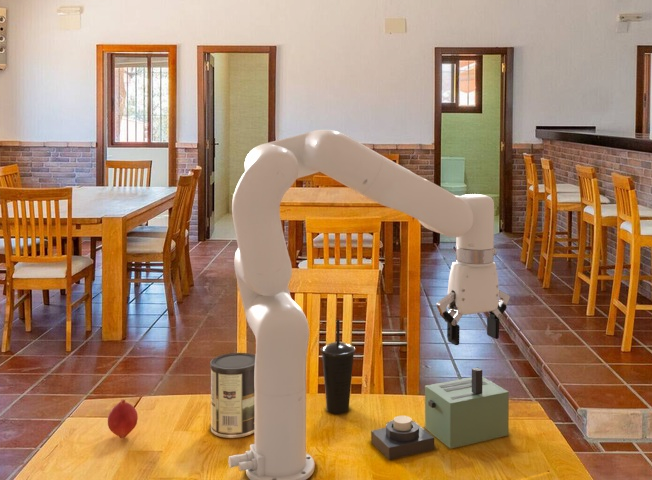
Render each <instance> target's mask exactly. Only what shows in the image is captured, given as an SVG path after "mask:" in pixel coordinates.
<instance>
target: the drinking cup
mask: <svg viewBox="0 0 652 480" xmlns="http://www.w3.org/2000/svg"><path fill="white" fill-rule="evenodd" d="M335 321H336V327H335V329H336V330H335V331H336V332H335V333H336V338H335V339H336V341H333V342H330V343H328V344H325V345H323V346H322V347H321V348H320V353H321V356H322V358H321V359H322V366H323V367H322V368H323V379H324V391H325V393H324V394H325V402H326V403H325V405H326V410H327V413H329V414H332V415H343V414H344V415H345V414H346V413H348V412H349V409H350V398H351V390H352V389H351V388H352V387H351V386H352V378H353V377H352V376H353V368H354V367H353V365H354V354H355V352H356V348H355V346H354V345H351V344H348V343H346V342H342V341H340V340H341V339H340V335H341V334H340V329H341V328H340V325H341V324H340V319H336V320H335Z"/></svg>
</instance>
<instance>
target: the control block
mask: <svg viewBox="0 0 652 480" xmlns="http://www.w3.org/2000/svg"><path fill="white" fill-rule="evenodd" d="M370 443H371V444H372V445H373V446H374V447H375V448H376V449H377V450H378V451H379V452H380V453H381V454H382V455H384V456H385V458H386V459H388V461H391V460H396V459H399V458H400V459H401V458H404V457H408V456H413V455H417V454H422V453H426V452H430V451H434V450H435V436H434V435H433V434H431V433H430V432H429V431H428V430H426V429H425V428H423V427H422V426H421V425H420V424H418V422H416V421H415V420H412V428H411V430H407V431H399V430H395V429H394V428H393V419H392V420H389V421H388V422H387V423H385V427H383V428H382V427H381V428H378V429H372V430H371V431H370Z"/></svg>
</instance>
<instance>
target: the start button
mask: <svg viewBox="0 0 652 480" xmlns="http://www.w3.org/2000/svg"><path fill="white" fill-rule="evenodd" d="M392 420H393V428H394V429H395V430H399V431H407V430H411V428H412V421H413V420H412V417H410V416H408V415H396V416H394V417H393V419H392Z"/></svg>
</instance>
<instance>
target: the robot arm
mask: <svg viewBox="0 0 652 480" xmlns="http://www.w3.org/2000/svg"><path fill="white" fill-rule="evenodd" d="M244 160H245V161H244V173H243V174H241V177H240V179H239V180H238V182H237V185H236V187H235V189H234V192H233V195H232V202H231V215H232V220H233V221H232V222H233V228H234V232H235V238H236V243H237V249H236V251H235V254H234V258H233V259H234V261H233V264H234V265H233V267H234V272H235V273H234V274H235V277H236V281H237V285H238V289H239V293H240V299H241V303H242V307H243V310H244V315H245V318H246V321H247V324H248V326H249V328H250V330H251V331H252V333H253V335H254V337H255V355H256V356H255V369H254V396H255V432H254V443H251V444H249V450H245V451H244V453H241V454H234V455H229V456H228V461H227V463H228V467H229V468H230V469H232V468H236V467H238V470H239V472H243V471H245V474H246V477H247V478H248V479H249V480H308V479H309V478H310V477H311V476H312V475H313V474H314V472H315V465H316V464H315V459H314V458H313V456H311V455H310V454H309V453H307V358H308V349H309V343H310V342H309V341H310V326H309V321H308V318H307V316H306V314H305V312H304V311H303V309H302V308H301V306H300V305H299V304H298V303H297V302H296V301H295V300H294V299H293V298H292V296H291V291H290V287H289V285H290V282H291V279H292V273H293V266H292V261H291V257H290V254H289V251H288V246H287V243H286V239H285V235H284V231H283V225H282V224H283V223H282V220H281V209H280V208H281V202H282V200H283V197H284V195H285V194H286V192H287V191H288V190H289V189H290V188H291V187H292V186H293V185H294V184H295V182H296V181H297V179H301V178H304V177H308V176H310V175H311V176H312V175H314V174H318V173H321V174H323V175H325V176H326V177H329V178H331V179H332V180H335V181H336V182H338V183H340V184H341V185H344V186H345V187H347V188H349V189H351V190H353V191H355V192H356V193H358V194H361V195H362V196H363V197H365V198H367V199H369V200H370V201H373V202H375V203H377V204H379V205H381V206H384V207H386V208H389V209H392V210H395V211H398V212H401V213H402V214H405V215H407V216H410V217H412V218H413V219H416V220H417V221H418V223H419V224H420V225H421V226H422V227H424V228H425V229H427V230H429V231H432V232H435V233H437V234H441V235H443V236H445V237H448V238H455V261H452V263H451V266H450V271H449V275H448V282H447V283H448V284H447V293H446V296H444V297H443V298H441V299H440V300H438V301H437V302H436V303H435V304H436V305H435V306H436V308H437V310H438V312H439V315H440V317H441V318H442V319H443V320H444V322H445V323H446V337H447V342H448V343H450V344H451V345H454V346H459V345H460V332H461V331H460V329H461V327H460V325H459V324H458V323H459V321H460V320H461V318H462V317H463V316H467V315H475V314H482V313H488V315H487V317H486V335H487V336H488V337H490V338H493V339H495V340H498V339H499V338H500V320H502V318H503V314H504V313H505V311H506V310H507V309H508V308H507V307H508V303H509V302H510V298H511V296H510V294H508V293H506V292H504V291H502V290H500V288H499V284H500V283H499V273H498V268H497V265H496V262H495V261H494V256H496V255H497V254H498V249H497V248H495V247H494V242H495V237H494V236H495V201H494V199H493V198H492V197H491V196H489V195H485V194H478V193H477V194H476V193H474V194H473V193H472V194H471V193H470V194H462V195H455V194H454V193H452V192H451V191H449V190H447V189H445V188H443V187H442V186H440V185H438V184H436V183H434V182H433V181H430V180H428V179H426V178H424V177H422V176H421V175H418V174H416V173H415V172H413V171H411V170H410V169H408V168H406V167H405V166H403V165H400V164H398V163H396V161H393V160H391V159H389V158H388V157H386V156H384V155H382V154H380V153H379V152H377V151H376V150H373V149H371V148H370V147H368V146H366V145H364V143H362V142H359V141H358V140H356V139H354V138H352V137H350V136H348V135H347V134H345V133H343V132H341V131H338V130H334V129H315V130H311V131H308V132H304V133H301V134H297V135H294V136H290V137H286V138H285V137H284V138H282V139H278V140H274V141H269V142H265V143H261V144H259V145H256V146H255V147H254V148H253V147H252V149H250V151H249V153H247V155H246V157H245V159H244ZM448 310H449V311H448Z"/></svg>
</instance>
